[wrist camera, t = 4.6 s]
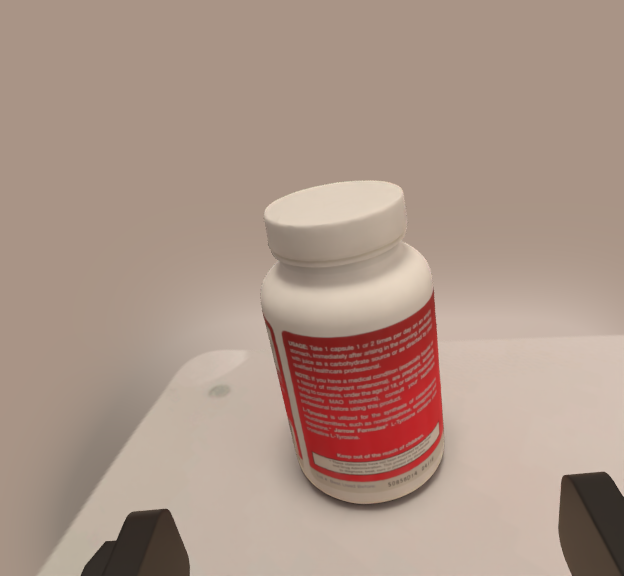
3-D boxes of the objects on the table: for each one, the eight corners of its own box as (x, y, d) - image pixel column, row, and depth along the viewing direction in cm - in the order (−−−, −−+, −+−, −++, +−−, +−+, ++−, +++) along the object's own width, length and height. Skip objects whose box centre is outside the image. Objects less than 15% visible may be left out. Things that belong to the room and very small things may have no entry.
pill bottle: (477, 452, 21) (470, 185, 16) (359, 541, 18) (306, 251, 13) (377, 385, 26) (348, 165, 21) (272, 447, 23) (210, 211, 18)
